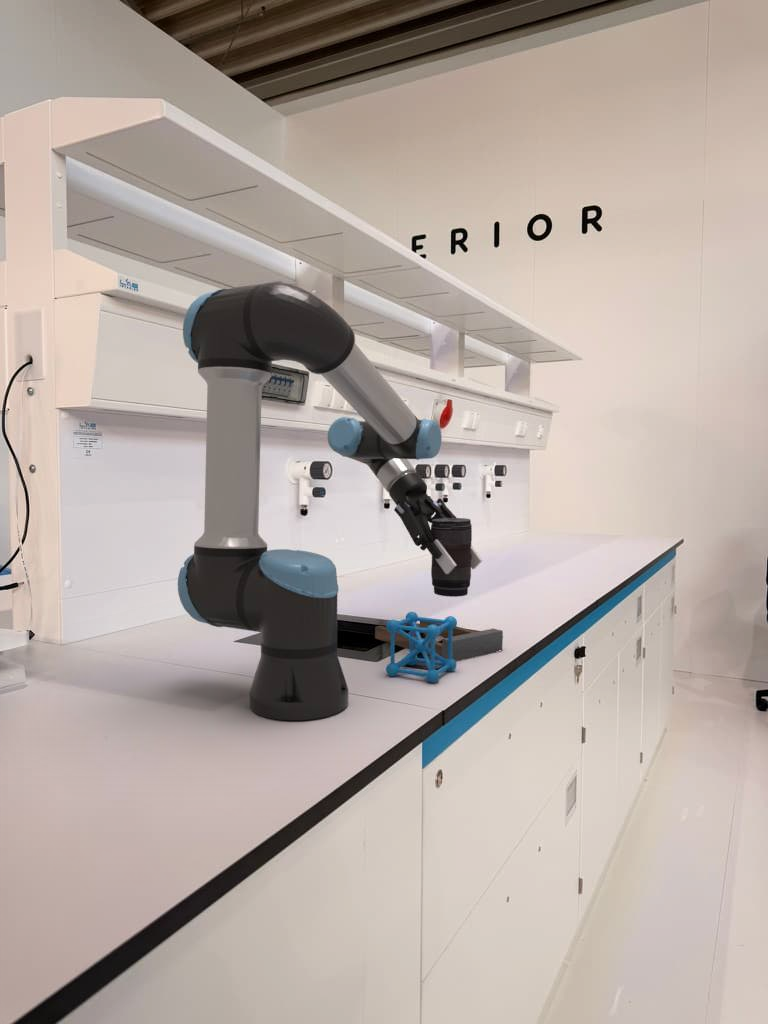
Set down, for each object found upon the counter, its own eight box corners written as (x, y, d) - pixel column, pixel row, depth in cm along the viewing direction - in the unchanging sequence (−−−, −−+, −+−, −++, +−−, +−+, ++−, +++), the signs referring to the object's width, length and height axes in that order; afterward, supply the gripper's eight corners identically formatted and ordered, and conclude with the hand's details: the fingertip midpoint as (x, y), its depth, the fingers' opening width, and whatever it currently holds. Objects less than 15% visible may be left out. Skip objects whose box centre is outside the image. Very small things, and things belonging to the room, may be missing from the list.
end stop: (451, 662, 137) (451, 641, 137) (442, 659, 139) (442, 638, 139) (502, 650, 146) (502, 630, 146) (493, 648, 148) (493, 628, 148)
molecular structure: (408, 663, 137) (408, 610, 136) (458, 670, 133) (459, 615, 132) (383, 676, 128) (383, 620, 128) (435, 685, 124) (436, 626, 123)
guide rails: (442, 659, 139) (442, 646, 139) (375, 638, 156) (375, 626, 155) (493, 648, 148) (493, 635, 148) (424, 629, 164) (424, 618, 164)
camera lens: (432, 589, 152) (433, 517, 151) (471, 590, 150) (472, 517, 149) (428, 596, 144) (429, 520, 143) (469, 598, 142) (471, 521, 141)
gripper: (424, 493, 164) (483, 573, 154) (359, 497, 148) (420, 585, 139) (443, 470, 160) (505, 550, 150) (378, 471, 144) (443, 560, 135)
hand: (464, 567), depth 145 cm, fingers closed on camera lens, 8 cm apart
